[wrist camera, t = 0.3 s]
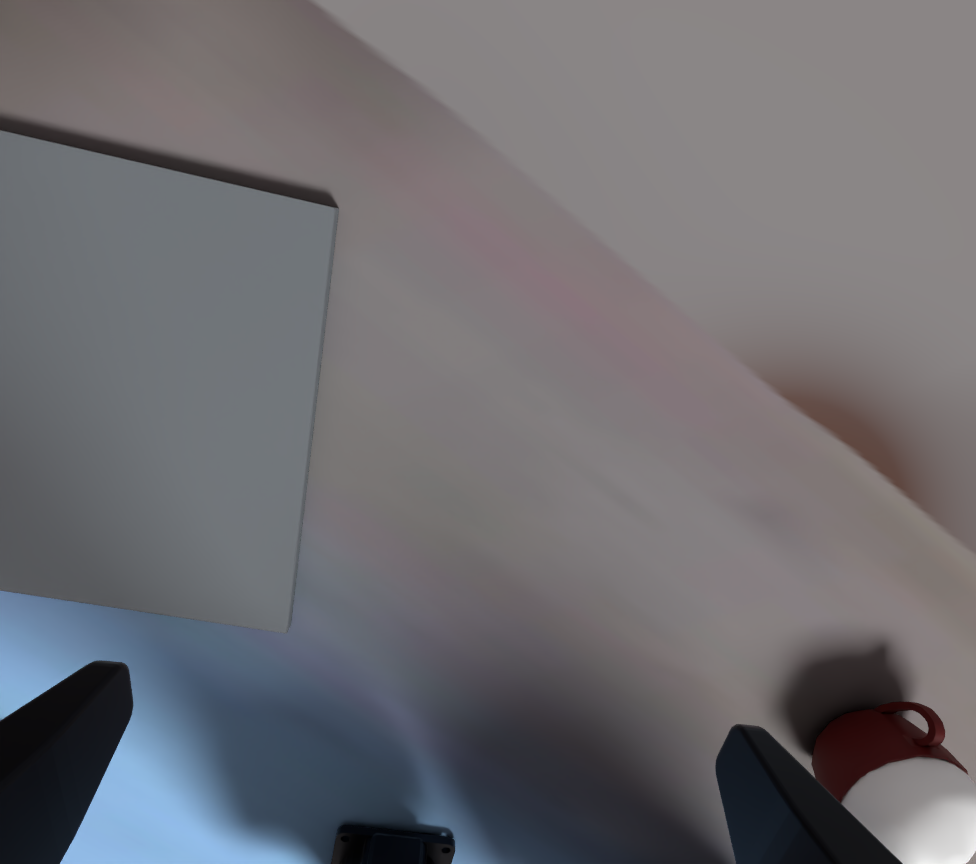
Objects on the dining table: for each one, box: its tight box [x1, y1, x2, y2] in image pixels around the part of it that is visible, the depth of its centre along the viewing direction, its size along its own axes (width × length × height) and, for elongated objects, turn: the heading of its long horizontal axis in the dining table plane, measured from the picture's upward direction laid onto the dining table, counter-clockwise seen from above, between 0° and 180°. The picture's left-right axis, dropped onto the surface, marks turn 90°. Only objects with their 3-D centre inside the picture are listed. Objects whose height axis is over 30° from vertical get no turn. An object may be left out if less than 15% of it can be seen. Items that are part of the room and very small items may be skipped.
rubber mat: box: [0, 130, 339, 634], centre depth 21 cm, size 18×12×1 cm, turn 168°
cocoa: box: [812, 702, 976, 864], centre depth 24 cm, size 10×6×12 cm, turn 146°
